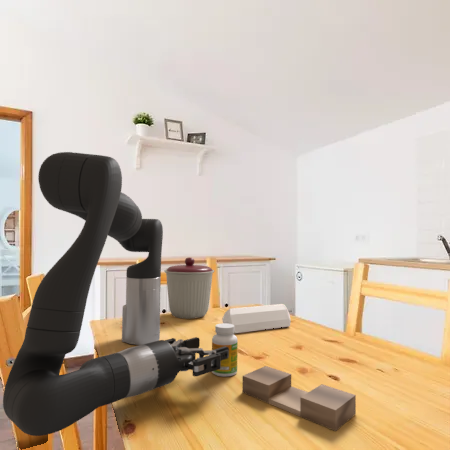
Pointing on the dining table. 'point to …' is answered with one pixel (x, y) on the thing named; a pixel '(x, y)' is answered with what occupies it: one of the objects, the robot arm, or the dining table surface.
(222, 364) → the supplement bottle
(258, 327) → the crystal
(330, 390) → the brown wooden cradle
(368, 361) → the dining table surface
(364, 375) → the dining table surface
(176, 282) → the canister
